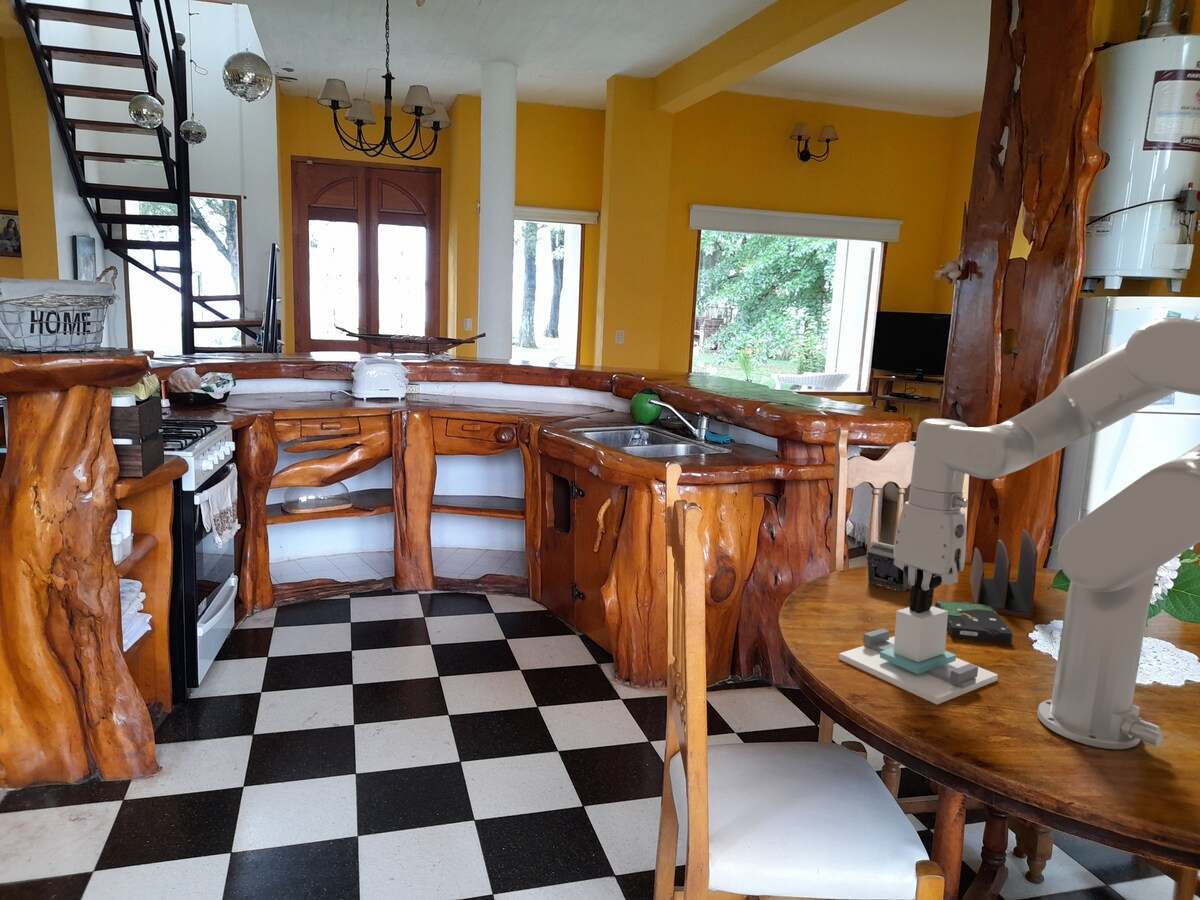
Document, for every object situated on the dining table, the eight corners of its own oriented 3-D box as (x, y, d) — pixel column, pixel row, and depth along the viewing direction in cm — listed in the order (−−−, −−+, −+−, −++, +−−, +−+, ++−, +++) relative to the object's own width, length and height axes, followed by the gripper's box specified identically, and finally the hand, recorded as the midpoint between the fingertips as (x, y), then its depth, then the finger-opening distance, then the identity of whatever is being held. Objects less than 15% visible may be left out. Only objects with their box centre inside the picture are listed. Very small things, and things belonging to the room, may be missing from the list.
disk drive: (1012, 648, 145) (989, 617, 159) (1014, 633, 144) (991, 603, 158) (950, 641, 146) (932, 611, 161) (952, 627, 146) (934, 597, 160)
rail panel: (997, 680, 130) (999, 660, 129) (937, 704, 121) (939, 683, 120) (899, 640, 144) (901, 621, 144) (838, 659, 135) (840, 639, 135)
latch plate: (955, 660, 132) (956, 654, 132) (917, 674, 127) (918, 668, 127) (917, 645, 138) (917, 639, 138) (879, 657, 132) (880, 651, 132)
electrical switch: (915, 589, 172) (918, 547, 170) (904, 597, 168) (907, 555, 166) (872, 578, 178) (874, 538, 176) (861, 586, 174) (863, 544, 172)
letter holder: (1019, 588, 176) (1028, 524, 174) (1031, 620, 158) (1041, 549, 155) (968, 581, 179) (976, 518, 177) (974, 611, 161) (983, 541, 159)
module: (944, 653, 132) (948, 611, 131) (918, 662, 128) (921, 619, 127) (918, 643, 136) (921, 602, 135) (891, 652, 132) (894, 610, 131)
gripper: (993, 508, 124) (976, 622, 128) (907, 486, 136) (894, 591, 140) (965, 513, 120) (948, 631, 123) (879, 490, 132) (865, 598, 135)
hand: (919, 610), depth 131 cm, fingers closed
